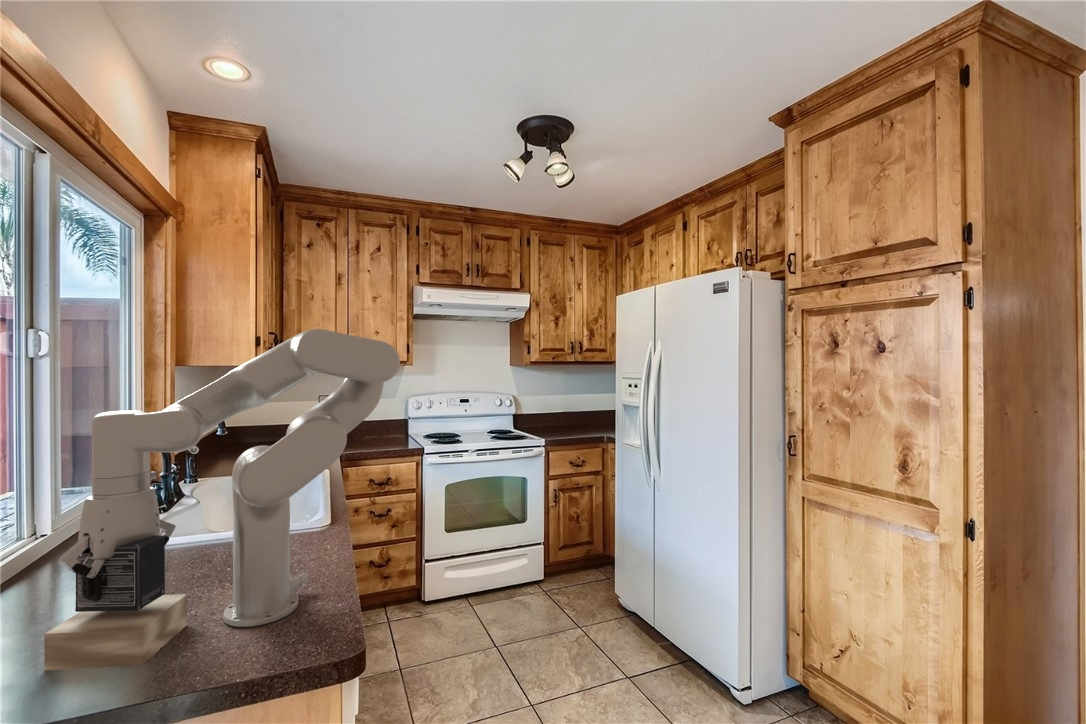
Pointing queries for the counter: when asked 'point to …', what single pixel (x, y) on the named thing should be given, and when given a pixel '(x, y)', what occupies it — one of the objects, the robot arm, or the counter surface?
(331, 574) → the counter surface
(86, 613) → the birch block
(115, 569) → the small box
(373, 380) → the robot arm
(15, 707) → the counter surface
